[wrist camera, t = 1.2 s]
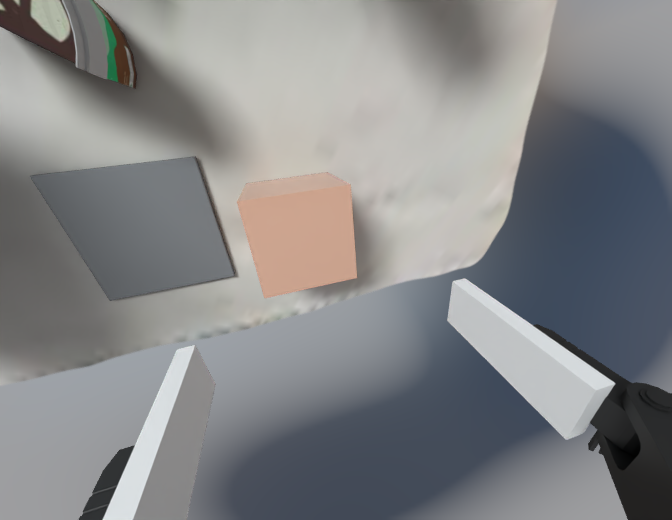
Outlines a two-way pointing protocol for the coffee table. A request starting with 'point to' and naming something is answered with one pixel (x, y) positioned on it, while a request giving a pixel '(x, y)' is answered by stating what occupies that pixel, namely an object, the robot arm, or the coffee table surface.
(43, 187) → the mat
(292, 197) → the salmon peach cube
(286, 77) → the coffee table surface
